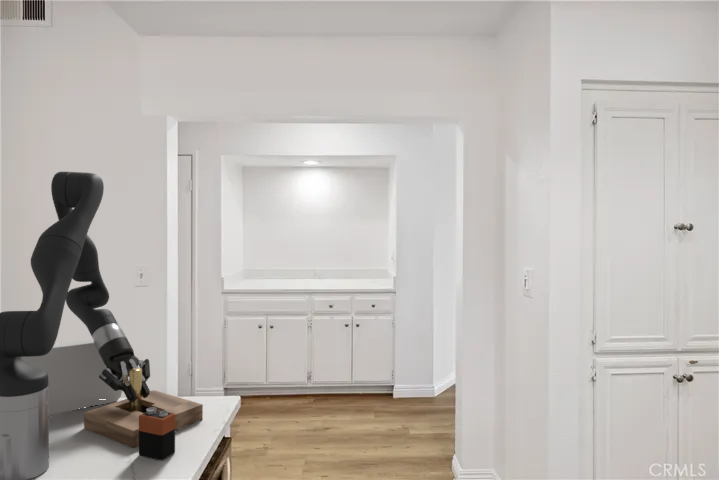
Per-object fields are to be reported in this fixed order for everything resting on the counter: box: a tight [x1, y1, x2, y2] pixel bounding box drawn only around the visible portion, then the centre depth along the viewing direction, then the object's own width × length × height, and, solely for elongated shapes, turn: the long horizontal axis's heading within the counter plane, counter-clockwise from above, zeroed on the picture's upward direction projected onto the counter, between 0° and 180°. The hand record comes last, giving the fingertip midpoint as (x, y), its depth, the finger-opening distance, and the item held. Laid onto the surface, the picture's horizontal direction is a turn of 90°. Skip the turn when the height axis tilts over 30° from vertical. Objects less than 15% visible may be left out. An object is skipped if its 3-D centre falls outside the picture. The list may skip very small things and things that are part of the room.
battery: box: [138, 408, 176, 461], centre depth 111 cm, size 4×7×10 cm, turn 69°
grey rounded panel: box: [21, 338, 123, 416], centre depth 137 cm, size 29×8×18 cm, turn 129°
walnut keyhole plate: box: [83, 389, 204, 449], centre depth 127 cm, size 20×20×4 cm
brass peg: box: [128, 367, 146, 413], centre depth 129 cm, size 5×5×13 cm
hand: (140, 397), depth 128 cm, fingers closed on brass peg, 3 cm apart
